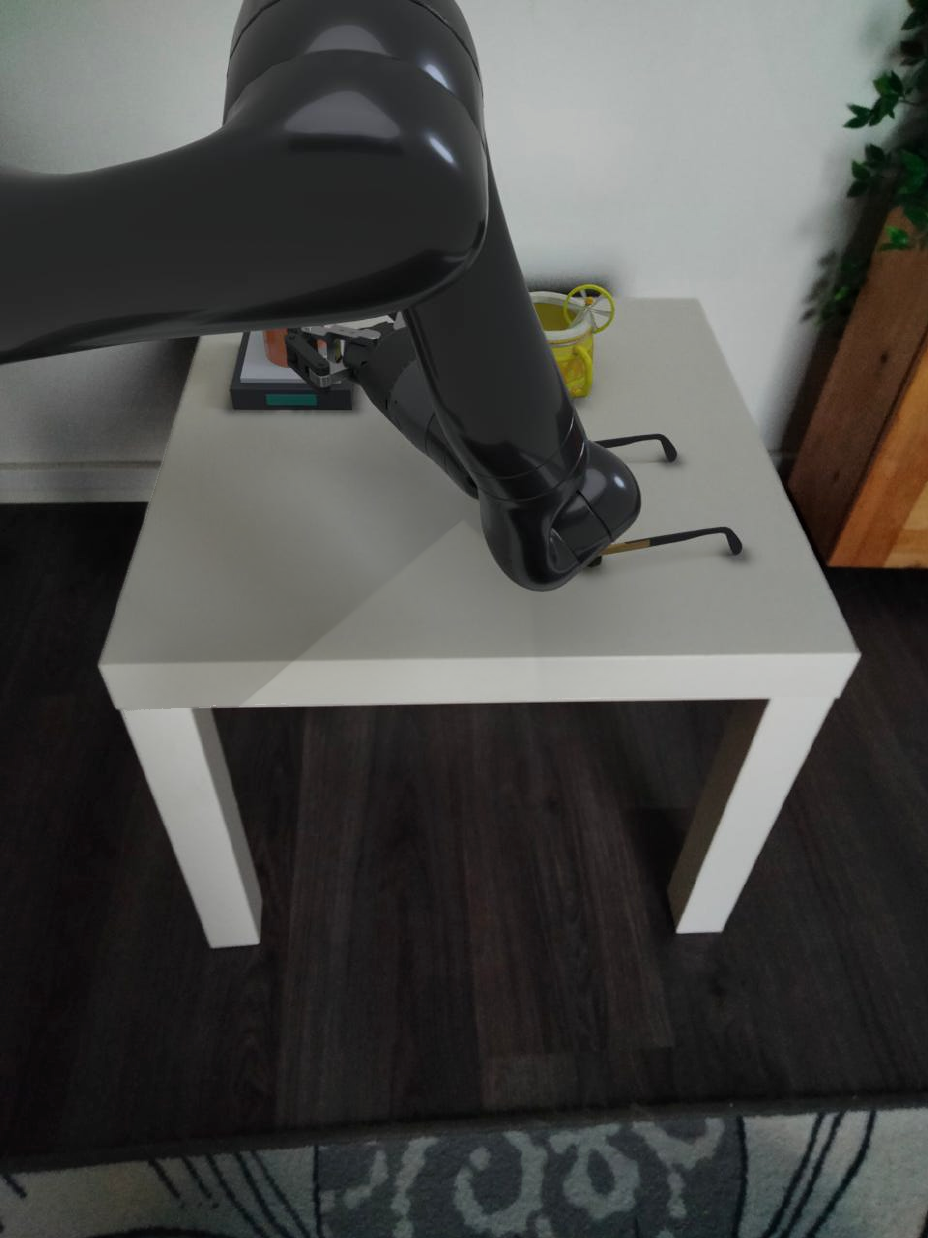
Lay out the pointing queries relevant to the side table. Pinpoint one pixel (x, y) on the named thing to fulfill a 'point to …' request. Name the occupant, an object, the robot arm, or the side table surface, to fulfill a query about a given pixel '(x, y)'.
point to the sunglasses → (664, 539)
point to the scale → (279, 382)
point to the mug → (572, 333)
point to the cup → (279, 346)
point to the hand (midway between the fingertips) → (336, 304)
